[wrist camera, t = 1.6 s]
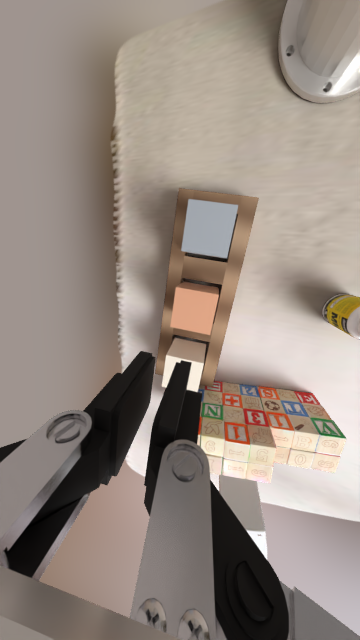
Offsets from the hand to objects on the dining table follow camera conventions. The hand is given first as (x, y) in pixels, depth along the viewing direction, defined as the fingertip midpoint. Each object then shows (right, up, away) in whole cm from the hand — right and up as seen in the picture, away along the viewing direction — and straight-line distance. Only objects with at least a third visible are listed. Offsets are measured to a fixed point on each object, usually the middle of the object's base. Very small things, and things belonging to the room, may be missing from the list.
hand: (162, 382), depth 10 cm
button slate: (+5, +14, +16) cm, 22 cm away
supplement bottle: (+24, +5, +19) cm, 31 cm away
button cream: (+2, -3, +22) cm, 22 cm away
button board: (+4, +7, +22) cm, 23 cm away
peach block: (+3, +6, +19) cm, 20 cm away
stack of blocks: (+13, -11, +26) cm, 31 cm away
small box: (+12, -26, +31) cm, 42 cm away
